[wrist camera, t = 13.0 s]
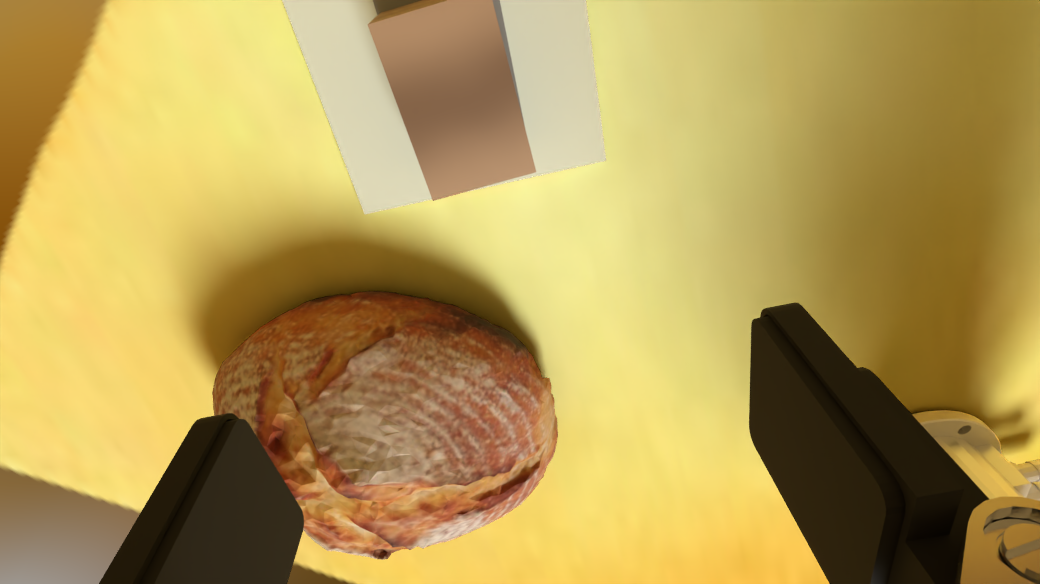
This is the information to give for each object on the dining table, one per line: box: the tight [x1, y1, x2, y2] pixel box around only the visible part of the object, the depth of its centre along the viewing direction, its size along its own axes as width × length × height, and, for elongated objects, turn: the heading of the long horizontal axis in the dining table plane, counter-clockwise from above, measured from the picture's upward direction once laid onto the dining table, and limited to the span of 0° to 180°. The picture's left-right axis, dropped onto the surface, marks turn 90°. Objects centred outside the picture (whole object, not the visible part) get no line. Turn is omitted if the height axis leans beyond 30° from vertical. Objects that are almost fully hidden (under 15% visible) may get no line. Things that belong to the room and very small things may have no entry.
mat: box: [282, 0, 606, 214], centre depth 25 cm, size 12×10×1 cm
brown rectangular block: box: [368, 0, 536, 201], centre depth 24 cm, size 7×4×4 cm, turn 14°
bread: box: [212, 291, 558, 559], centre depth 31 cm, size 16×20×10 cm
